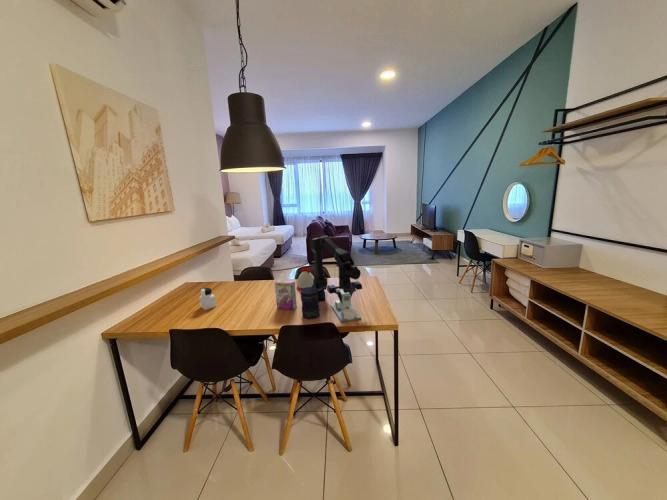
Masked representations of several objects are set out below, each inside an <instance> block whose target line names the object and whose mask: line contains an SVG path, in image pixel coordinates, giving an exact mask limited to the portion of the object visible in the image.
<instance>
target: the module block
mask: <svg viewBox="0 0 667 500" xmlns="http://www.w3.org/2000/svg"><path fill="white" fill-rule="evenodd" d="M340 292H341V300H342V303H341V302H340V304H341V305H342V306H343V307H349V306H352V297H351V294H350V293H349V292H347V293H344V291H343V289H341V290H340Z"/></svg>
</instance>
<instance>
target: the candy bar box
mask: <svg viewBox="0 0 667 500" xmlns="http://www.w3.org/2000/svg"><path fill="white" fill-rule="evenodd" d="M274 288H275V289H274V291H275V299H276V300H275V301H276V308H277V309H283V310H291V311H293V310H295V309H296V308H297V307H298V306H297V293H296V282H295V281H290V280H281V279H278V280H277V281H275V282H274Z"/></svg>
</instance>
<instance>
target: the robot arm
mask: <svg viewBox="0 0 667 500" xmlns="http://www.w3.org/2000/svg"><path fill="white" fill-rule="evenodd" d="M309 246H310V250H311V251H312V252H313V261H314V273H315V275H314V280H313V285H312V287H315V288H317V289H318V294H319V299H318V302H322V301H324V302H325V301H326V291H327V292H328V293H329V294H336V295H337V297H338V300H340V302H341V303H342V300H341V292H340V291H342V290H343V291H344V293H347V292H349V293H350V294H351V298H352V296H353V294H354V293H355V292H356V291H358V290H362V289H363V285H362V284H361V282H360V281H357V280H358V279H360V276H361V270H360V269H359V268H358V266H357V265H355V262H354V260H353V258H352V255H351V253H349V251H347V250H345V249H342V248H340V247H339V246H338V245H337V244H336V243H335V242H334V241H333V240H331V239H330V237H329V236H328V235H324V236H320V237H315V238H312V239H310V241H309ZM325 248H327V250H328V251H329V252H330V253H331V254H332V255H333V256H334V260H335V261H336V264H335V266H336V267H338V285H337V286H335V284H330V285H328V278H327V277H326V276H325V275H324V264H323V263H324V262H323V252H324V249H325ZM351 279H352V280H356V281H351ZM325 290H326V291H325Z"/></svg>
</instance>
